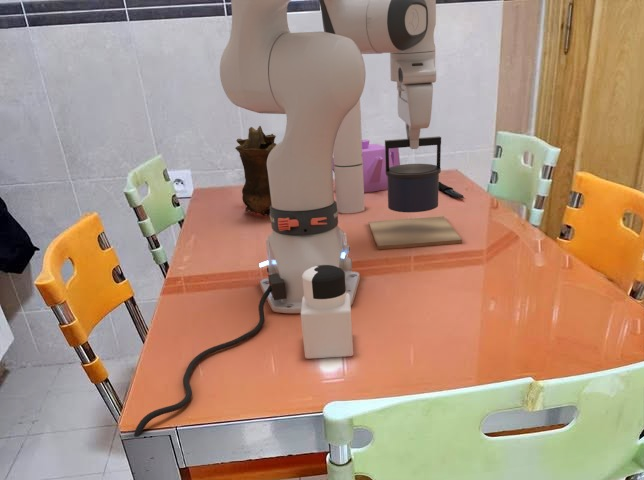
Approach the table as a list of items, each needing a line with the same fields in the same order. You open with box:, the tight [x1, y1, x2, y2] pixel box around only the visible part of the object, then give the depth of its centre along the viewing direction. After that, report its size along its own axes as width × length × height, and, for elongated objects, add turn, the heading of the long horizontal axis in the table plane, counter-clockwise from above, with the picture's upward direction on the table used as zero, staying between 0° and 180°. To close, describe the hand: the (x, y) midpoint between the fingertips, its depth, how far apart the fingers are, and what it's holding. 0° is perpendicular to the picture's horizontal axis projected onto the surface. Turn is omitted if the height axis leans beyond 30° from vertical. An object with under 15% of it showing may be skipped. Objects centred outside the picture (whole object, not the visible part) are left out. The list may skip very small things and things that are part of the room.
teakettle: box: [333, 139, 401, 194], centre depth 183 cm, size 17×17×12 cm
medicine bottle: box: [300, 265, 354, 360], centre depth 94 cm, size 7×7×12 cm
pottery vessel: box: [234, 125, 277, 217], centre depth 163 cm, size 25×11×20 cm, turn 7°
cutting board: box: [368, 215, 463, 250], centre depth 146 cm, size 20×18×1 cm
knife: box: [438, 181, 467, 199], centre depth 175 cm, size 21×1×3 cm
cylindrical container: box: [333, 98, 366, 214], centre depth 159 cm, size 7×7×25 cm
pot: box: [384, 135, 442, 213], centre depth 139 cm, size 12×12×13 cm
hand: (412, 147), depth 136 cm, fingers closed on pot
